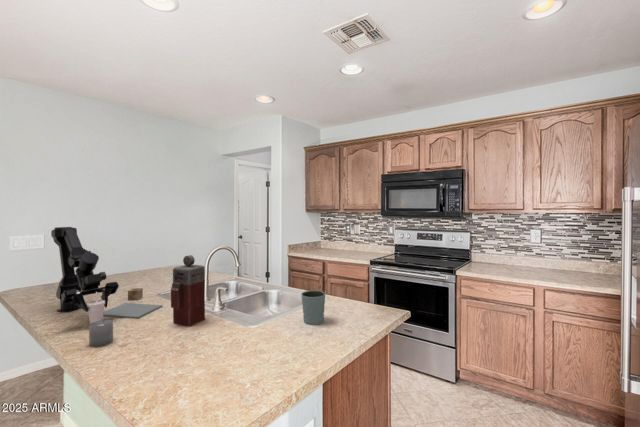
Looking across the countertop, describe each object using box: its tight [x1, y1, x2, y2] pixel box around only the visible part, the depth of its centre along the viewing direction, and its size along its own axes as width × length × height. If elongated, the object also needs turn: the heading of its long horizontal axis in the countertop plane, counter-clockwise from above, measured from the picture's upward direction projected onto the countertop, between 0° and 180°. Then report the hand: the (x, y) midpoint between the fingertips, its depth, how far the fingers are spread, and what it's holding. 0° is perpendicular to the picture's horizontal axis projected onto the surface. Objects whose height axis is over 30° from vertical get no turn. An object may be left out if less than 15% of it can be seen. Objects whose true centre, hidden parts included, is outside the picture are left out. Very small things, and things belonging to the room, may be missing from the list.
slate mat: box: [103, 302, 163, 320], centre depth 145 cm, size 20×16×1 cm
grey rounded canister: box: [88, 319, 114, 348], centre depth 112 cm, size 7×7×7 cm
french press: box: [170, 254, 206, 327], centre depth 132 cm, size 9×11×28 cm
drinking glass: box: [300, 290, 326, 326], centre depth 134 cm, size 10×10×12 cm
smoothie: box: [85, 292, 105, 325], centre depth 127 cm, size 6×6×14 cm
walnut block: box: [127, 287, 144, 302], centre depth 164 cm, size 5×5×5 cm
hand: (97, 309), depth 127 cm, fingers closed on smoothie, 6 cm apart
